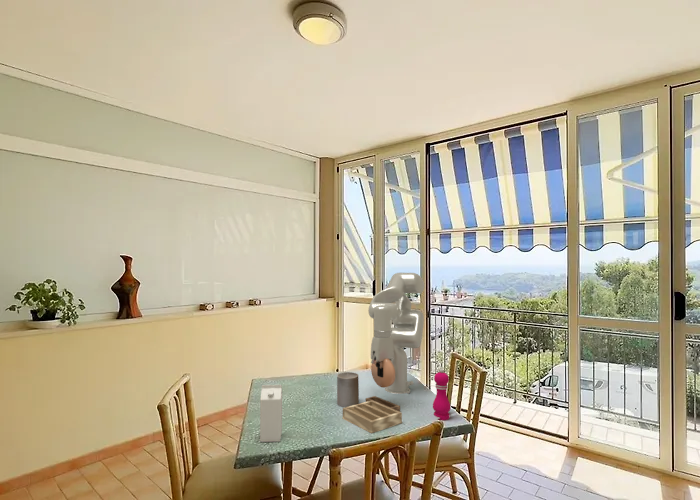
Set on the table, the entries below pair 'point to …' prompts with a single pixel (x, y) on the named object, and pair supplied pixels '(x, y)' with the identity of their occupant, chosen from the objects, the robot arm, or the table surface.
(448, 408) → the pepper mill
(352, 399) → the pillar candle
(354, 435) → the table surface
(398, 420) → the rack
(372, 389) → the table surface
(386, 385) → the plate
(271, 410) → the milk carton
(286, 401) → the table surface
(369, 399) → the narrow wooden tray
